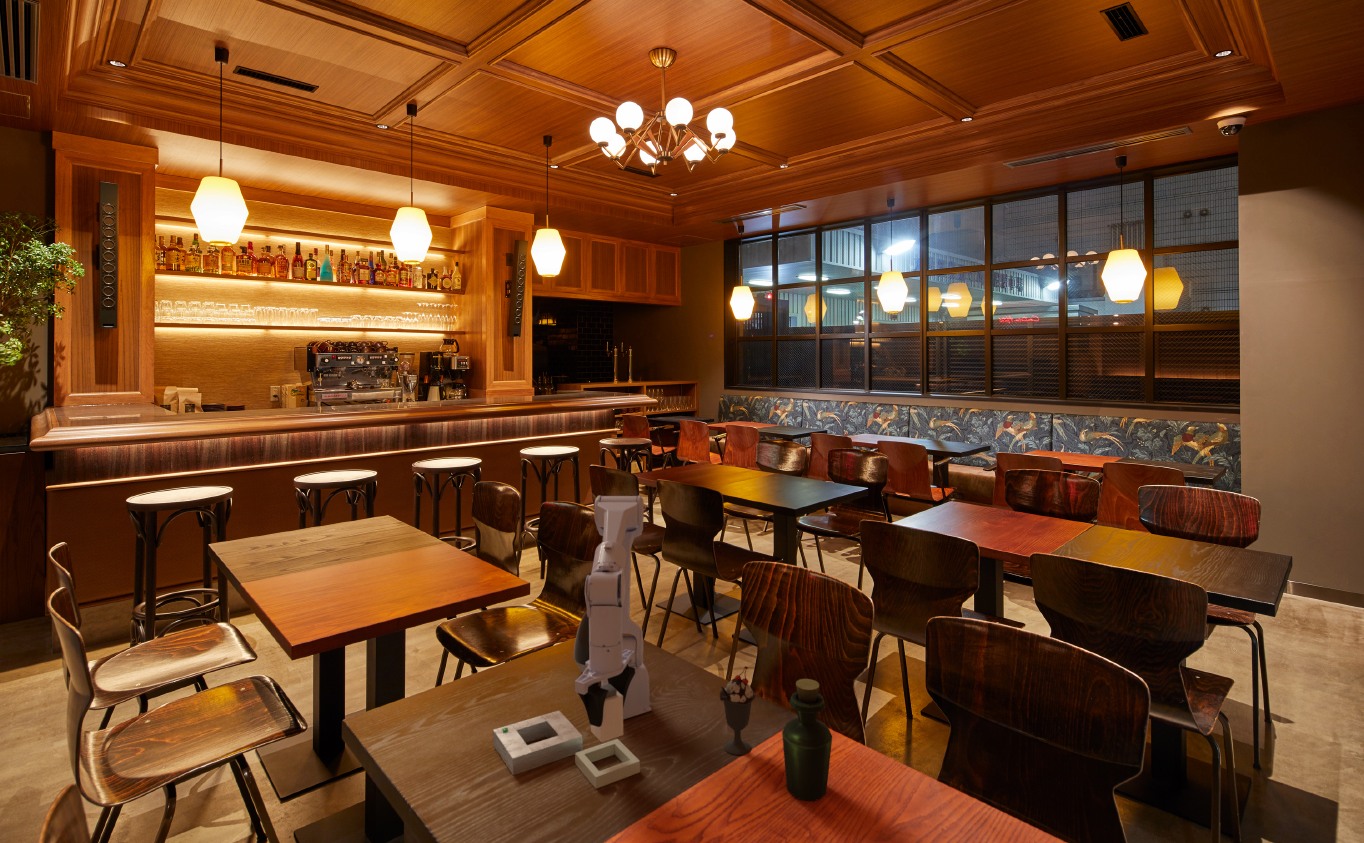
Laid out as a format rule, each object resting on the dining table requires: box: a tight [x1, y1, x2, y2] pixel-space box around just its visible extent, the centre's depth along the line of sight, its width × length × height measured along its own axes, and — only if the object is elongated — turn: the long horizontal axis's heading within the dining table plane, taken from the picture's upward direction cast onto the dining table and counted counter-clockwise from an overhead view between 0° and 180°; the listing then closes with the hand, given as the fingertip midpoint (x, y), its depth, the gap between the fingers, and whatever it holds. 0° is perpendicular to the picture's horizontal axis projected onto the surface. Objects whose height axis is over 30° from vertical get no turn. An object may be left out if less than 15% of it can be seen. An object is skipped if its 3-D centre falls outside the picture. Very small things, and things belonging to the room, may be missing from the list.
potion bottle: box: [781, 678, 833, 802], centre depth 108 cm, size 8×8×18 cm
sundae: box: [719, 665, 757, 756], centre depth 121 cm, size 7×7×15 cm
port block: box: [492, 710, 584, 776], centre depth 121 cm, size 13×11×3 cm
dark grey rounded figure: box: [573, 610, 589, 673], centre depth 152 cm, size 10×10×15 cm
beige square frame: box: [574, 738, 641, 790], centre depth 115 cm, size 8×8×2 cm
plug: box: [590, 684, 624, 743], centre depth 114 cm, size 4×4×8 cm
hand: (606, 716), depth 114 cm, fingers closed on plug, 6 cm apart
